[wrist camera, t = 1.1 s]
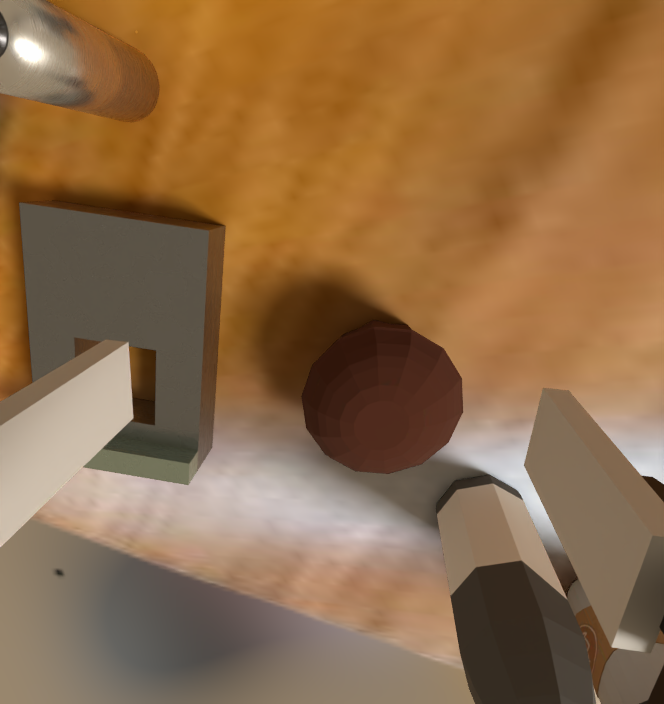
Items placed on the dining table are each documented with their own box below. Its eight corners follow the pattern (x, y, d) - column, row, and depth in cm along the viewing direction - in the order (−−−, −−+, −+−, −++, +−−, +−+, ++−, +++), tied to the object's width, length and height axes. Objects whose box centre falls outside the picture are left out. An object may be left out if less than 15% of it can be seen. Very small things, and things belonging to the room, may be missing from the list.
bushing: (91, 41, 36) (-80, -42, 22) (159, 50, 36) (27, -29, 22) (93, 117, 37) (-65, 82, 24) (158, 126, 37) (34, 96, 24)
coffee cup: (559, 557, 46) (637, 723, 32) (654, 562, 45) (777, 734, 31) (548, 626, 49) (616, 808, 35) (638, 631, 48) (745, 819, 34)
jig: (53, 200, 40) (-1, 203, 34) (225, 225, 39) (199, 233, 33) (65, 422, 46) (21, 456, 41) (212, 447, 46) (188, 485, 40)
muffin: (385, 274, 39) (386, 304, 30) (480, 368, 41) (510, 424, 32) (286, 373, 43) (259, 427, 33) (377, 455, 45) (376, 529, 35)
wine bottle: (416, 501, 46) (475, 1022, 17) (493, 457, 43) (704, 970, 15) (465, 561, 47) (592, 1126, 19) (542, 521, 45) (813, 1092, 17)
